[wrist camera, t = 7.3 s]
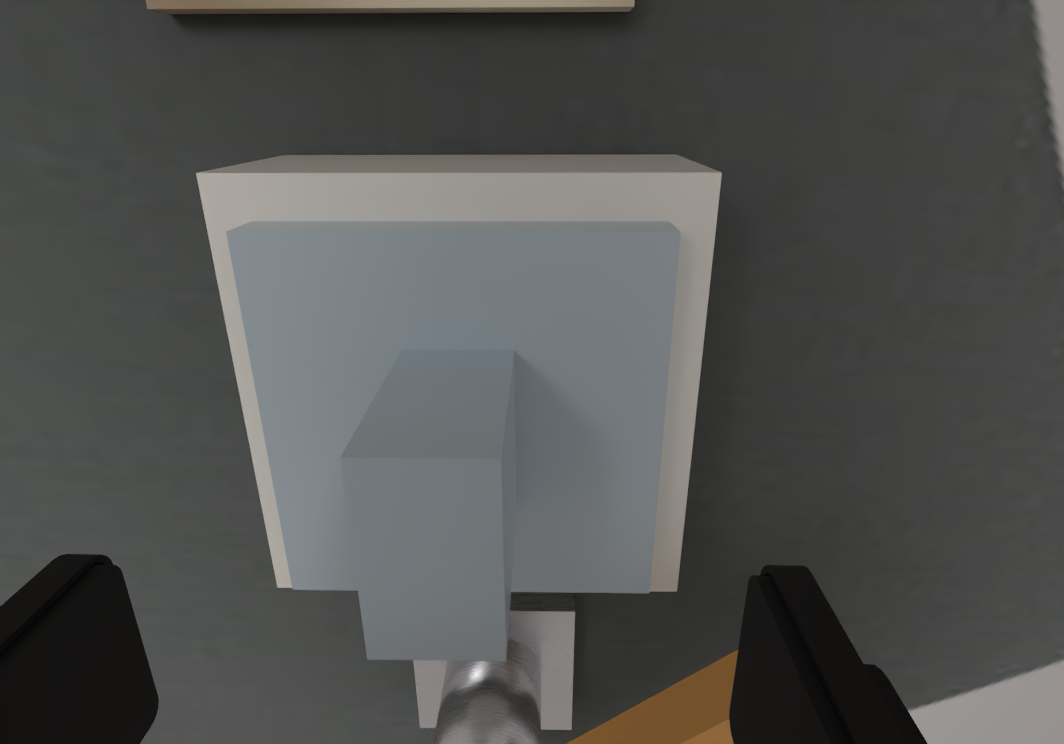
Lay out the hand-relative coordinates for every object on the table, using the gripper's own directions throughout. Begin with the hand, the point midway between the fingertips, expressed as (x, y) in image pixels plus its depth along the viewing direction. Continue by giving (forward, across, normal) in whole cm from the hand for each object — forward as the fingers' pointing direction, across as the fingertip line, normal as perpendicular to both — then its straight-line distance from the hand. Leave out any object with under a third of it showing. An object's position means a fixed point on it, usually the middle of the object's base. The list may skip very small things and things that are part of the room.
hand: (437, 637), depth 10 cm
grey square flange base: (+12, 0, +12) cm, 17 cm away
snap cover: (+7, 0, -1) cm, 7 cm away
